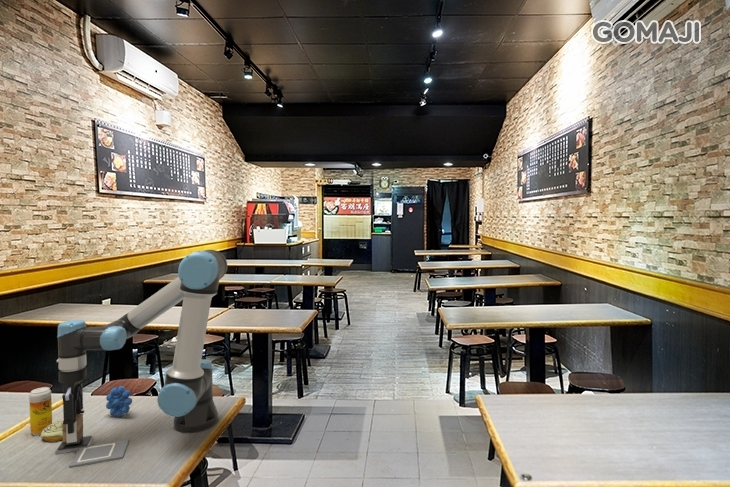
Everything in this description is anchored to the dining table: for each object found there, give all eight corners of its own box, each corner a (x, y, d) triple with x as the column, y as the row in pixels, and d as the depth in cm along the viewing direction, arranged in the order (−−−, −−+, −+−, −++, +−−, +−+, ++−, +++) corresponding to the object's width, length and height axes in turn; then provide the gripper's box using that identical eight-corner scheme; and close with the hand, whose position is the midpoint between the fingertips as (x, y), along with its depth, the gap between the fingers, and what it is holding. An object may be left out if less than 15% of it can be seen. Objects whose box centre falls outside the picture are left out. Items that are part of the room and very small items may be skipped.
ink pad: (93, 438, 142) (93, 434, 142) (88, 448, 135) (88, 444, 135) (62, 443, 139) (62, 439, 139) (55, 454, 132) (55, 450, 132)
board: (128, 441, 140) (128, 439, 140) (122, 458, 130) (122, 455, 130) (79, 449, 135) (79, 447, 135) (69, 467, 125) (69, 465, 125)
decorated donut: (33, 444, 139) (33, 433, 139) (55, 428, 150) (55, 418, 150) (66, 442, 140) (65, 431, 140) (85, 427, 150) (85, 417, 150)
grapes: (140, 413, 161) (140, 383, 160) (126, 421, 154) (125, 389, 154) (116, 410, 164) (115, 380, 163) (101, 417, 157) (100, 386, 157)
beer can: (40, 436, 143) (38, 394, 143) (26, 435, 144) (24, 392, 144) (56, 428, 149) (55, 387, 149) (42, 427, 150) (41, 386, 150)
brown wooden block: (83, 436, 140) (82, 413, 139) (79, 443, 135) (79, 419, 135) (67, 439, 138) (66, 415, 138) (62, 445, 134) (62, 421, 134)
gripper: (67, 361, 143) (69, 428, 144) (49, 378, 126) (51, 453, 127) (92, 358, 145) (94, 424, 146) (78, 375, 129) (80, 449, 130)
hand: (74, 437), depth 137 cm, fingers closed on brown wooden block, 4 cm apart
